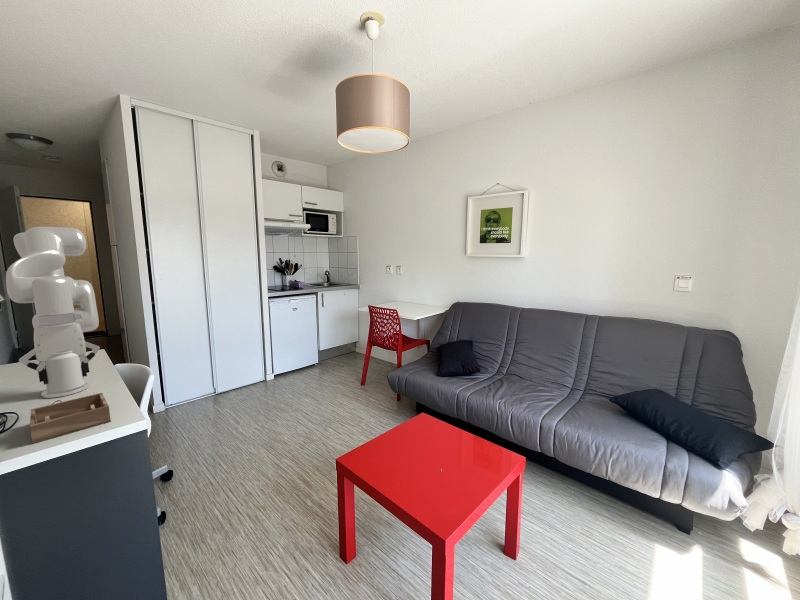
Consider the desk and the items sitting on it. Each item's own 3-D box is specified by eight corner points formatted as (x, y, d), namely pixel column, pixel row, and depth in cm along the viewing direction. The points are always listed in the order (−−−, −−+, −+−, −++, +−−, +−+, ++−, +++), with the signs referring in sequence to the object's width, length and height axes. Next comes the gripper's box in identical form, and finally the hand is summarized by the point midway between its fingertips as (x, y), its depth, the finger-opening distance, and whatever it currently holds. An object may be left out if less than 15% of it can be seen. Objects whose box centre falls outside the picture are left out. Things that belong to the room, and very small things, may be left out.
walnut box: (33, 424, 99) (30, 409, 98) (104, 406, 111) (102, 392, 110) (32, 444, 88) (29, 426, 88) (110, 421, 100) (108, 406, 99)
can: (91, 385, 99) (86, 347, 98) (64, 395, 92) (58, 354, 91) (70, 384, 100) (64, 346, 99) (41, 394, 93) (34, 353, 91)
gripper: (96, 314, 103) (103, 369, 105) (10, 323, 90) (21, 385, 92) (99, 317, 98) (107, 374, 100) (9, 326, 85) (20, 391, 87)
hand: (65, 378), depth 96 cm, fingers closed on can, 7 cm apart
